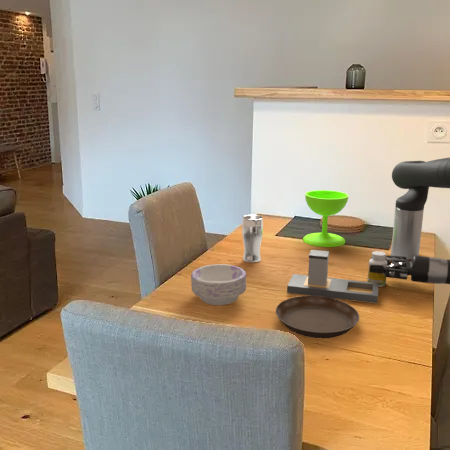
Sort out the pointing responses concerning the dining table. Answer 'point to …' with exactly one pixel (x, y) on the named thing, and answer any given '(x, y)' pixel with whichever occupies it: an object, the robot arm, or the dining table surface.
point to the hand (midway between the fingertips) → (370, 264)
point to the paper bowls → (218, 283)
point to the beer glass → (252, 237)
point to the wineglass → (325, 215)
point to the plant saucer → (317, 316)
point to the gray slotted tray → (330, 282)
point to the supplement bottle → (377, 259)
